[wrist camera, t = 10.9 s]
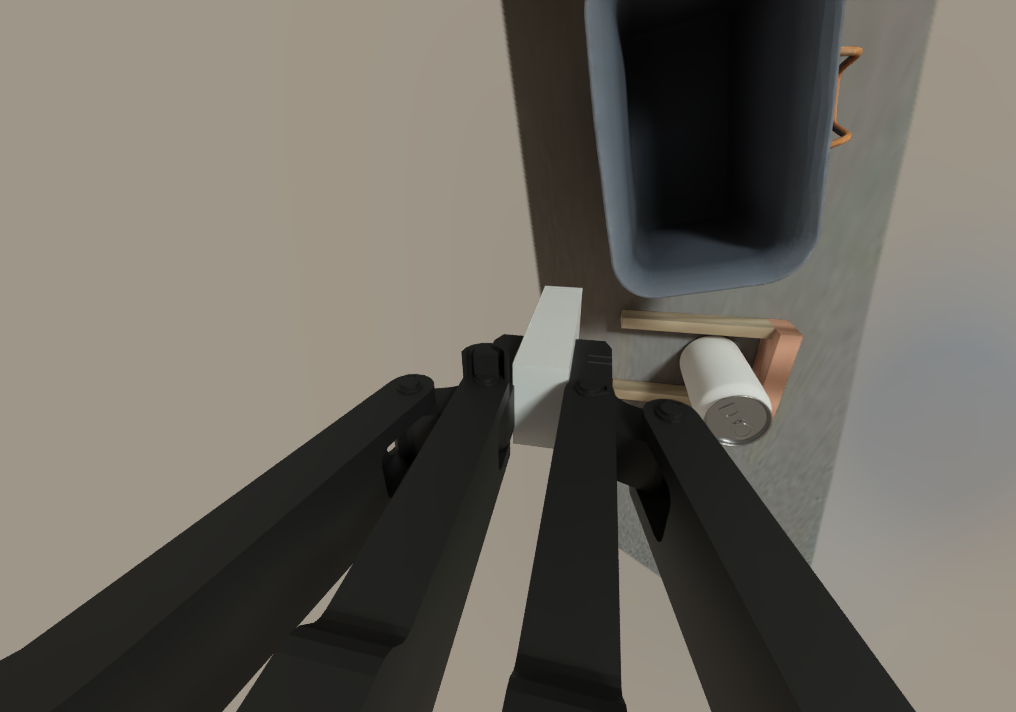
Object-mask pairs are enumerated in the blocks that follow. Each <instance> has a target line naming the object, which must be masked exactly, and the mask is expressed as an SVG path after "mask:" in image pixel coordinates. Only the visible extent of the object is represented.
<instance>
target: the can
mask: <svg viewBox="0 0 1016 712" xmlns="http://www.w3.org/2000/svg"><path fill="white" fill-rule="evenodd" d="M680 369H681V373H682V376H683V379H684V383H685V386H686V389H687V392H688V396H689V399H690V402H691V405H692V408H693V409H694V410H695V411H696V412H697V413H698V414H699V415H700V417H701V418H702V419H703V421H704V422H705V423H706V425H707V426H708V428H709V429H710V430H711V432H712V433H713V434H714V436H715V437H716V439H717V440H718V441H719V443H720V444H722V445H725V446H733V447H737V446H745V445H749V444H752V443H754V442H756V441H758V440H760V439H761V438H763V437H764V436H765V435H766V434H767V433H768V431H769V430H770V428H771V426H772V421H773V417H772V413H771V412H772V406H771V402H770V399H769V397H768V395H767V394H766V392H765V390H764V388H763V387H762V385H761V383H760V382H759V380H758V379H757V377H756V375H755V374H754V372H753V370H752V369H751V367H750V366H749V364H748V362H747V361H746V359H745V357H744V356H743V354H742V353H741V351H740V350H739V348H738V347H737V345H736V344H735V343H734V342H732V341H731V340H729V339H727V338H725V337H721V336H705V337H701V338H698V339H696V340H694V341H693V342H691V343H690V344H689V345H688V346H687V347H686V348H685V349H684V350H683V352H682V354H681V357H680Z"/></svg>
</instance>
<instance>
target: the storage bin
mask: <svg viewBox="0 0 1016 712" xmlns="http://www.w3.org/2000/svg"><path fill="white" fill-rule="evenodd" d="M844 10H845V0H585V4H584V20H585V33H586V45H587V58H588V69H589V80H590V91H591V101H592V112H593V122H594V130H595V138H596V147H597V155H598V163H599V171H600V179H601V188H602V196H603V204H604V212H605V220H606V227H607V235H608V242H609V250H610V257H611V264H612V268H613V272H614V274H615V276H616V278H617V279H618V281H619V282H620V284H621V285H622V286H623V287H624V288H625V289H626V290H628V291H629V292H630V293H632V294H635V295H637V296H640V297H644V298H652V299H655V298H665V297H674V296H681V295H689V294H697V293H705V292H713V291H720V290H728V289H735V288H742V287H750V286H758V285H764V284H769V283H773V282H776V281H779V280H781V279H783V278H785V277H787V276H789V275H790V274H792V273H793V272H795V271H796V270H798V269H799V268H800V267H801V266H802V265H803V264H804V263H805V262H806V261H807V260H808V258H809V257H810V256H811V254H812V253H813V251H814V249H815V247H816V245H817V243H818V239H819V236H820V233H821V225H822V217H823V211H824V202H825V189H826V179H827V170H828V162H829V154H830V149H831V148H834V147H836V146H839V145H841V144H843V143H846V142H847V141H849V140H850V138H851V133H850V132H849V131H848V130H846V129H844V128H843V127H841V126H840V125H839V124H837V122H836V114H837V104H838V95H839V88H840V80H841V75H842V72H843V71H844V70H845V69H846V68H847V67H848V66H849V65H850V64H852V63H853V62H854V61H855V60H857V59H858V58H859V57H860V56H861V54H862V52H863V50H862V48H861V47H854V46H851V47H841V42H842V32H843V21H844ZM840 56H849V57H848V58H847V59H845V60H844V61H843V62H842V63H841V64H840V65H839V62H840ZM832 131H834V132H835V133H836V134H838V135H839V136H841V137H840V138H838V139H835V140H833V141H831V136H832Z"/></svg>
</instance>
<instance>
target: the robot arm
mask: <svg viewBox="0 0 1016 712" xmlns="http://www.w3.org/2000/svg"><path fill="white" fill-rule="evenodd" d="M582 289H583V288H575V287H557V286H545V288H544V290H543V292H542V295H541V297H540V300H539V302H538V304H537V307H536V309H535V312H534V314H533V316H532V319H531V321H530V323H529V326H528V328H527V331H526V333H525V335H524V336H517V335H506V334H504V335H502V336H500V337H499V338H497V339H496V340H495V341H494V342H493V343H480V344H474V345H471V346H469V347H466V348H465V349H464V350H463V351H462V365H463V379H462V381H461V382H460V384H459V386H455V387H448V388H436V389H435V388H434V382H433V380H432V379H431V378H429V377H427V376H425V375H419V374H412V375H411V374H408V375H405V376H401V377H398V378H396V379H394V380H392V381H390V382H389V383H388V384H386V385H385V386H384V387H382V388H381V389H380V390H378V391H377V392H375V393H374V394H373V395H371V396H370V397H368V398H367V399H366V400H365V401H363V402H362V403H360V404H359V405H357V406H356V407H355V408H353V409H352V410H351V411H349V412H348V413H347V414H345V415H344V416H342V417H341V418H339V419H338V420H337V421H335V422H334V423H333V424H331V425H330V426H328V427H327V428H326V429H325V430H323V431H322V432H320V433H319V434H317V435H316V436H315V437H313V438H312V439H311V440H309V441H308V442H306V443H305V444H304V445H302V446H301V447H300V448H298V449H297V450H295V451H294V452H293V453H291V454H290V455H288V456H287V457H286V458H284V459H283V460H282V461H280V462H279V463H277V464H276V465H275V466H273V467H272V468H271V469H269V470H268V471H266V472H265V473H264V474H262V475H261V476H259V477H258V478H257V479H255V480H254V481H253V482H251V483H250V484H248V485H247V486H246V487H244V488H243V489H242V490H240V491H239V492H237V493H236V494H235V495H233V496H232V497H230V498H229V499H228V500H226V501H225V502H224V503H222V504H221V505H219V506H218V507H217V508H216V509H214V510H213V511H211V512H210V513H209V514H207V515H206V516H204V517H203V518H202V519H200V520H199V521H197V522H196V523H195V524H193V525H192V526H191V527H189V528H188V529H186V530H185V531H184V532H182V533H181V534H179V535H178V536H177V537H175V538H174V539H173V540H171V541H170V542H168V543H167V544H166V545H165V546H163V547H162V548H160V549H159V550H157V551H156V552H155V553H153V554H152V555H150V556H149V557H148V558H147V559H145V560H144V561H142V562H141V563H140V564H138V565H137V566H135V567H134V568H133V569H131V570H130V571H129V572H127V573H126V574H124V575H123V576H122V577H120V578H119V579H117V580H116V581H115V582H113V583H112V584H110V585H109V586H108V587H106V588H105V589H104V590H102V591H101V592H100V593H98V594H97V595H95V596H94V597H93V598H91V599H90V600H88V601H87V602H86V603H84V604H83V605H82V606H80V607H79V608H77V609H76V610H75V611H73V612H72V613H70V614H69V615H68V616H66V617H65V618H64V619H62V620H61V621H59V622H58V623H57V624H55V625H54V626H53V627H51V628H50V629H48V630H47V631H46V632H45V633H43V634H42V635H40V636H39V637H37V638H36V639H35V640H33V641H32V642H30V643H29V644H28V645H26V646H25V647H24V648H22V649H21V650H19V651H17V652H15V653H13V654H12V655H10V656H8V657H6V658H4V659H2V660H0V712H222V711H223V710H224V709H225V708H226V707H227V706H228V704H229V703H230V702H231V701H232V700H233V699H234V697H236V695H237V694H238V693H239V692H240V691H241V690H242V689H243V687H244V686H245V685H246V684H247V683H248V682H249V680H251V678H252V677H253V676H254V675H255V674H256V673H257V671H258V670H259V669H260V668H261V667H262V666H263V665H264V664H265V663H266V661H267V660H268V659H269V658H270V657H271V656H272V657H271V659H270V660H269V662H268V663H267V665H266V666H265V668H264V669H263V671H262V673H261V674H260V676H259V677H258V679H257V680H256V682H255V684H254V685H253V687H252V688H251V690H250V691H249V693H248V695H247V696H246V697H245V699H244V701H243V702H242V704H241V705H240V707H239V708H238V710H237V711H236V712H432V711H433V708H434V704H435V701H436V698H437V694H438V691H439V688H440V685H441V681H442V678H443V675H444V671H445V668H446V665H447V661H448V658H449V655H450V651H451V648H452V645H453V642H454V638H455V635H456V631H457V628H458V625H459V622H460V618H461V615H462V612H463V609H464V605H465V602H466V599H467V595H468V592H469V589H470V585H471V582H472V579H473V576H474V572H475V569H476V566H477V562H478V559H479V555H480V552H481V549H482V546H483V543H484V539H485V536H486V533H487V529H488V526H489V523H490V519H491V516H492V513H493V509H494V506H495V503H496V499H497V496H498V493H499V490H500V486H501V483H502V480H503V476H504V473H505V470H506V467H507V463H508V460H509V456H510V439H511V436H512V433H513V443H515V444H522V445H530V446H537V447H545V448H553V449H554V450H553V456H552V462H551V468H550V473H549V478H548V484H547V490H546V495H545V501H544V507H543V512H542V518H541V524H540V530H539V535H538V540H537V546H536V552H535V557H534V563H533V568H532V574H531V580H530V586H529V591H528V597H527V603H526V608H525V614H524V619H523V625H522V630H521V636H520V642H519V648H518V653H517V658H516V663H515V667H514V671H513V672H512V674H511V676H510V678H509V683H508V686H507V690H506V695H505V700H504V705H503V709H502V712H627V708H626V704H625V701H624V699H623V697H622V689H621V658H620V657H621V656H620V655H621V654H620V613H619V611H620V608H619V563H618V562H619V560H618V513H617V481H619V482H621V483H624V484H626V485H629V490H630V495H631V498H632V500H633V503H634V506H635V508H636V511H637V514H638V516H639V519H640V522H641V524H642V527H643V530H644V532H645V535H646V538H647V540H648V543H649V546H650V549H651V551H652V554H653V557H654V559H655V562H656V565H657V567H658V570H659V573H660V575H661V578H662V580H663V583H664V586H665V589H666V591H667V594H668V596H669V599H670V602H671V604H672V607H673V610H674V613H675V615H676V618H677V621H678V623H679V626H680V629H681V631H682V634H683V636H684V639H685V642H686V645H687V647H688V650H689V653H690V655H691V658H692V661H693V663H694V666H695V669H696V671H697V674H698V677H699V680H700V682H701V685H702V688H703V690H704V693H705V696H706V698H707V700H708V704H709V706H710V709H711V711H712V712H915V710H914V709H913V707H912V706H911V705H910V703H909V702H908V701H907V699H906V698H905V696H904V695H903V694H902V692H901V691H900V690H899V688H898V687H897V686H896V684H895V683H894V681H893V680H892V678H891V677H890V676H889V674H888V673H887V672H886V670H885V669H884V668H883V666H882V665H881V663H880V662H879V661H878V659H877V658H876V657H875V655H874V654H873V652H872V651H871V650H870V648H869V647H868V646H867V644H866V643H865V641H864V640H863V639H862V637H861V636H860V635H859V633H858V632H857V631H856V629H855V628H854V626H853V625H852V624H851V622H850V621H849V619H848V618H847V617H846V615H845V614H844V613H843V611H842V610H841V609H840V607H839V606H838V604H837V603H836V602H835V600H834V599H833V598H832V596H831V595H830V594H829V592H828V591H827V589H826V588H825V587H824V585H823V584H822V583H821V581H820V580H819V578H818V577H817V576H816V574H815V573H814V572H813V571H812V569H811V567H810V566H809V565H808V563H807V562H806V561H805V559H804V558H803V556H802V555H801V554H800V552H799V551H798V550H797V548H796V547H795V545H794V544H793V543H792V541H791V540H790V539H789V537H788V536H787V534H786V533H785V532H784V530H783V529H782V528H781V526H780V525H779V524H778V522H777V521H776V519H775V518H774V517H773V515H772V514H771V513H770V511H769V510H768V508H767V507H766V506H765V504H764V503H763V502H762V500H761V499H760V497H759V496H758V495H757V493H756V492H755V491H754V489H753V488H752V486H751V485H750V484H749V482H748V481H747V480H746V478H745V477H744V476H743V474H742V473H741V471H740V470H739V469H738V467H737V466H736V465H735V463H734V462H733V460H732V459H731V458H730V456H729V455H728V454H727V452H726V451H725V449H724V448H723V447H722V445H721V444H720V443H719V441H718V440H717V439H716V437H715V436H714V434H713V433H712V432H711V430H710V429H709V428H708V426H707V425H706V423H705V422H704V421H703V419H702V418H701V417H700V415H699V414H698V413H697V412H696V411H695V410H694V409H693V408H692V407H690V406H688V405H686V404H685V403H683V402H680V401H676V400H672V399H655V400H651V401H649V402H647V403H646V404H645V405H644V407H643V409H641V408H638V407H635V406H632V405H630V404H627V403H625V402H623V401H622V400H620V399H619V398H618V397H617V396H616V395H615V392H614V389H613V387H612V349H611V347H610V346H609V345H608V344H607V343H606V342H605V341H594V340H582V339H579V328H580V315H581V302H582ZM393 442H395V447H394V448H393V449H392V450H391V451H389V452H388V451H387V448H388V447H389V445H391V444H392V443H393ZM352 564H353V565H352ZM351 565H352V566H351ZM350 566H351V568H350V570H349V572H348V573H347V575H346V576H345V578H344V580H343V582H342V583H341V585H340V587H339V588H338V590H337V592H336V593H335V595H334V597H333V598H332V600H331V602H330V604H329V605H328V607H327V609H326V610H325V611H324V613H323V614H322V616H321V617H320V618H319V619H318V620H317V621H315V622H314V623H310V624H305V625H300V626H298V625H299V624H300V623H301V622H302V621H303V619H304V618H305V617H306V616H307V615H308V614H309V612H310V611H311V610H312V609H313V608H314V607H315V606H316V605H317V604H318V603H319V601H320V600H321V599H322V598H323V597H324V596H325V595H326V593H327V592H328V591H329V590H330V589H331V588H332V587H333V585H334V584H335V583H336V582H337V581H338V580H339V579H340V578H341V576H342V575H343V574H344V573H345V572H346V571H347V570H348V569H349V567H350ZM297 626H298V627H297ZM296 627H297V628H296ZM273 653H274V654H273Z"/></svg>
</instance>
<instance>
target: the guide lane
mask: <svg viewBox="0 0 1016 712" xmlns="http://www.w3.org/2000/svg"><path fill="white" fill-rule="evenodd" d="M621 328H628V329H642V330H655V331H669V332H682V333H696V334H709V335H723V336H736V337H750V338H761V340H760V343H759V346H758V350H757V353H756V356H755V359H754V362H753V366H752V370H753V372H754V374H755V375H756V377H757V379H758V380H759V382H760V383H761V385H762V387H763V388H764V390H765V392H766V394H767V395H768V397H769V399H770V402H771V406H772V412H771V413H772V417H773V418H774V416H775V413H776V410H777V407H778V405H779V402H780V399H781V396H782V394H783V391H784V388H785V385H786V383H787V380H788V377H789V374H790V372H791V369H792V366H793V363H794V361H795V358H796V355H797V353H798V350H799V347H800V344H801V342H802V339H803V335H802V334H801V333H800V332H799V331H798V330H797V329H796V328H795V327H794V326H793V325H792V324H791V323H790V322H789V321H788V320H776V319H761V318H745V317H730V316H715V315H700V314H684V313H669V312H654V311H638V310H623V309H622V313H621ZM612 387H613V389H614V392H615V395H616V396H617V397H618V398H619V399H628V400H638V401H647V402H649V401H651V400H655V399H672V400H676V401H680V402H683V403H685V404H686V405H688V406H692V405H691V402H690V399H689V396H688V392H687V389H686V386H683V385H673V384H663V383H653V382H642V381H632V380H622V379H613V383H612Z"/></svg>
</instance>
